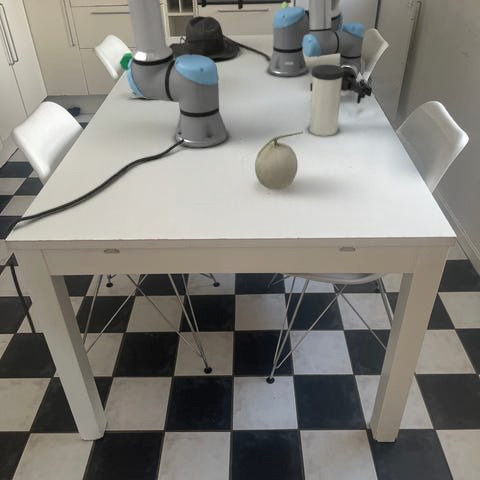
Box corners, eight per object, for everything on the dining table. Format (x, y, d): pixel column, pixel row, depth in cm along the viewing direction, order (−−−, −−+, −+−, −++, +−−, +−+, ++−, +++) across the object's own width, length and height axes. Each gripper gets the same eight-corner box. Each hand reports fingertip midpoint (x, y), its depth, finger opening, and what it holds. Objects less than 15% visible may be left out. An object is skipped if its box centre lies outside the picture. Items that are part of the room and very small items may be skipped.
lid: (313, 69, 154) (314, 63, 153) (345, 70, 152) (345, 65, 151) (309, 78, 146) (309, 73, 145) (342, 80, 144) (342, 75, 143)
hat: (242, 41, 245) (242, 9, 237) (234, 63, 217) (233, 27, 208) (177, 41, 248) (174, 9, 240) (160, 63, 220) (157, 27, 211)
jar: (311, 123, 163) (315, 65, 152) (338, 126, 161) (344, 67, 151) (307, 134, 156) (311, 74, 146) (335, 136, 154) (341, 76, 144)
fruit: (243, 186, 130) (242, 131, 122) (278, 172, 136) (279, 118, 127) (270, 202, 124) (271, 145, 115) (305, 187, 129) (308, 131, 121)
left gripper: (259, -64, 166) (259, 7, 178) (189, -65, 173) (193, 3, 185) (252, -62, 160) (252, 11, 172) (179, -63, 167) (184, 8, 179)
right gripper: (380, 90, 180) (375, 112, 164) (310, 84, 186) (298, 105, 170) (383, 68, 176) (378, 89, 159) (311, 63, 182) (299, 82, 166)
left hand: (222, 7), depth 179 cm, fingers open, 13 cm apart
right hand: (337, 97), depth 165 cm, fingers open, 13 cm apart
